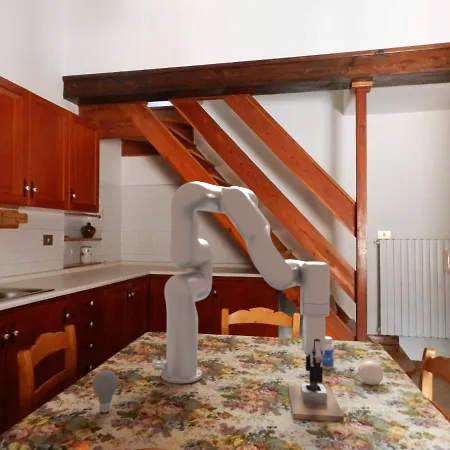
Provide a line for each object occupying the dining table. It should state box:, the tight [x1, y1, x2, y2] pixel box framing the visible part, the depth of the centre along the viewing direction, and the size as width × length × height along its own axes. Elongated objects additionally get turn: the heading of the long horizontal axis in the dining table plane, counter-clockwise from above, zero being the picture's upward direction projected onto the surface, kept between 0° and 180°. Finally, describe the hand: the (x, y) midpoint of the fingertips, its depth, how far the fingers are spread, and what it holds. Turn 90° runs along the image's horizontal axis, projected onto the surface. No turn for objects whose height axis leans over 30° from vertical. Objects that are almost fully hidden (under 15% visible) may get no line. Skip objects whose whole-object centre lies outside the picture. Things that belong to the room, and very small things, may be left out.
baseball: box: [357, 360, 384, 386], centre depth 121 cm, size 7×7×7 cm
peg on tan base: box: [287, 381, 345, 422], centre depth 106 cm, size 12×18×8 cm, turn 175°
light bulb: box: [92, 369, 119, 413], centre depth 99 cm, size 6×6×10 cm
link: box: [300, 382, 327, 405], centre depth 106 cm, size 6×6×3 cm
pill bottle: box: [322, 335, 335, 370], centre depth 136 cm, size 6×5×10 cm
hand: (313, 375), depth 106 cm, fingers open, 7 cm apart
